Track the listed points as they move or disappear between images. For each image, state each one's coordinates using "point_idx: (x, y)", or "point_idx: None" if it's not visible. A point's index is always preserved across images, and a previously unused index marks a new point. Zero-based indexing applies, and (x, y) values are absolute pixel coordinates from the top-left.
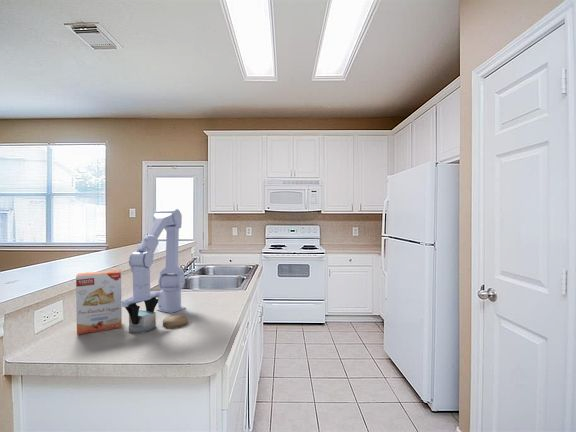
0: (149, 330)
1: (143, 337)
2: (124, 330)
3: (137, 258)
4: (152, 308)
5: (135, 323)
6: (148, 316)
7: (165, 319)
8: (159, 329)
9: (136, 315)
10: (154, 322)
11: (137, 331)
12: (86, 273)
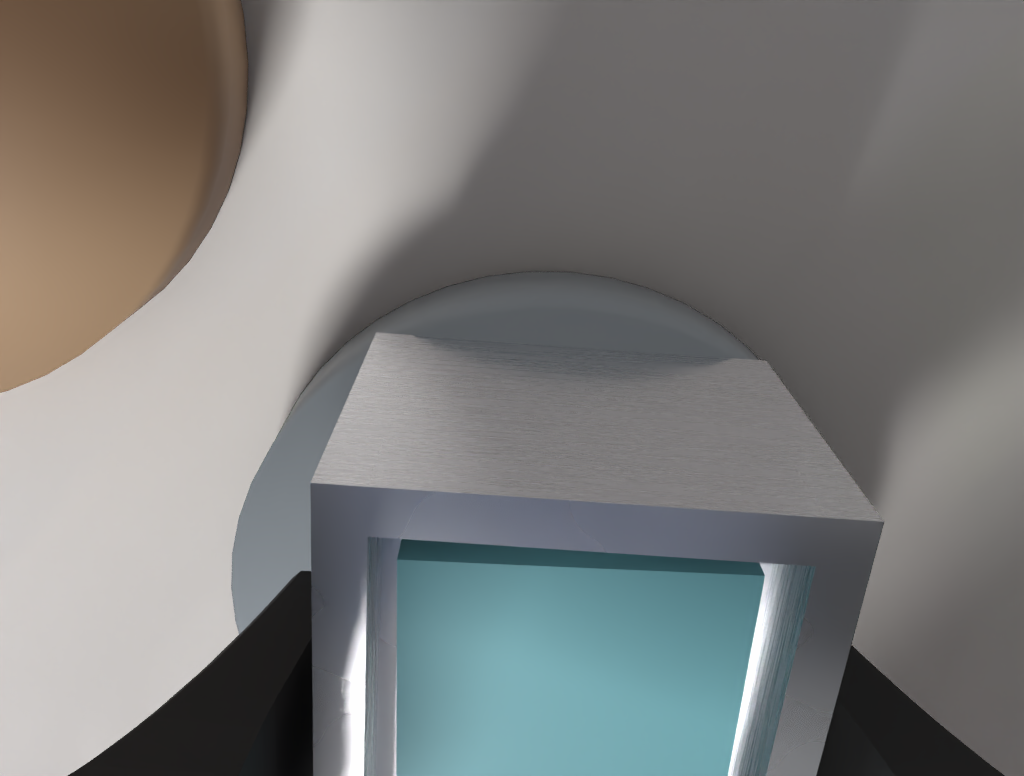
0: (610, 280)
1: (979, 90)
2: None
3: None
4: (224, 771)
5: None
6: (643, 478)
7: (19, 310)
8: (414, 134)
9: (956, 765)
10: (411, 349)
11: None
12: None
